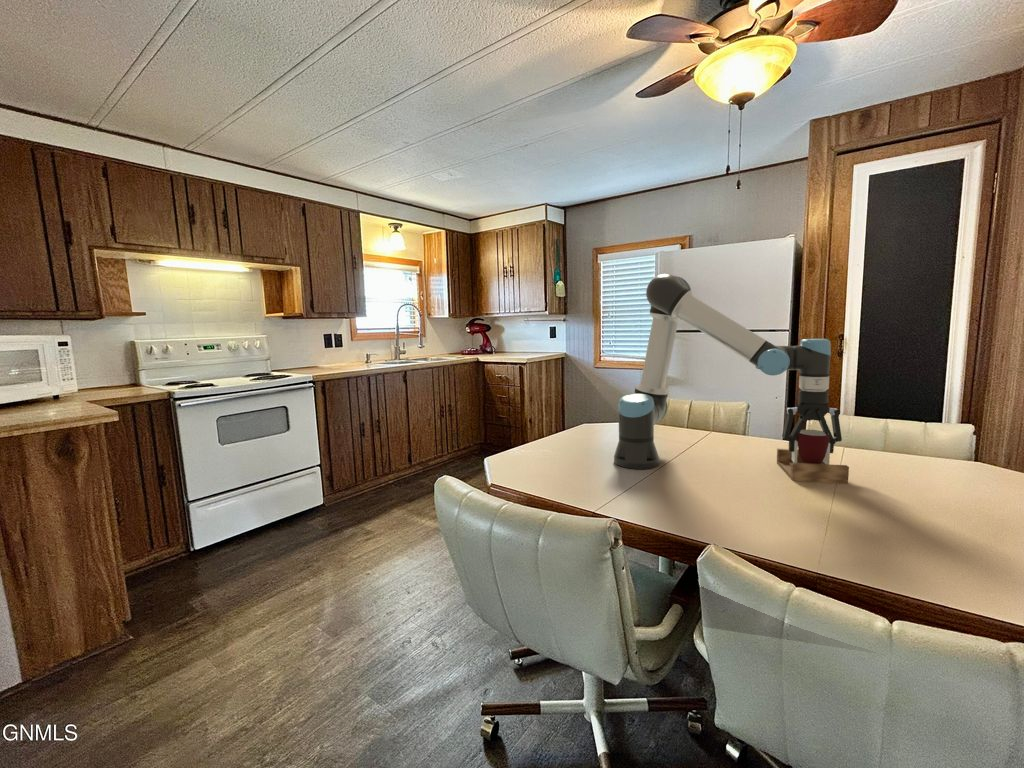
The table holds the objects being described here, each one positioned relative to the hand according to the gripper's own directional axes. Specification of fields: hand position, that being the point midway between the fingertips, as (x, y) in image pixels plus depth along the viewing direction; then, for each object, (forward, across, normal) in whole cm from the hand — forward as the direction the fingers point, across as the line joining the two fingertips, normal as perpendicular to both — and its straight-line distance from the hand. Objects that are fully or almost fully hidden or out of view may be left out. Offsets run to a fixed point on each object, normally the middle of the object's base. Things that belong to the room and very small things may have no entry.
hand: (810, 462), depth 136 cm
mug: (0, 0, 0) cm, 0 cm away
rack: (+3, 0, 0) cm, 3 cm away
